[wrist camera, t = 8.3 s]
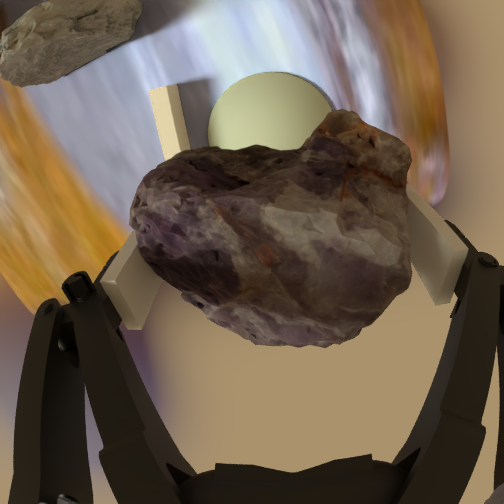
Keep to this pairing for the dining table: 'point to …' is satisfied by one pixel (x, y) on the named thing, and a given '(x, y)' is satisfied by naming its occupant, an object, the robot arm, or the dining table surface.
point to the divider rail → (169, 120)
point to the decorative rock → (63, 37)
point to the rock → (283, 232)
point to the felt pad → (267, 113)
